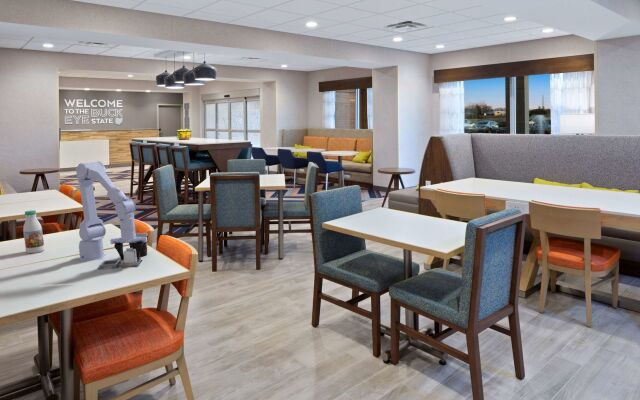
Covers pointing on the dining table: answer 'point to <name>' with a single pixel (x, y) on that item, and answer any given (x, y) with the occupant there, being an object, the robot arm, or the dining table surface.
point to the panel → (118, 264)
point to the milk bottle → (33, 233)
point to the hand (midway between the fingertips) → (130, 259)
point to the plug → (130, 255)
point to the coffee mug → (144, 247)
